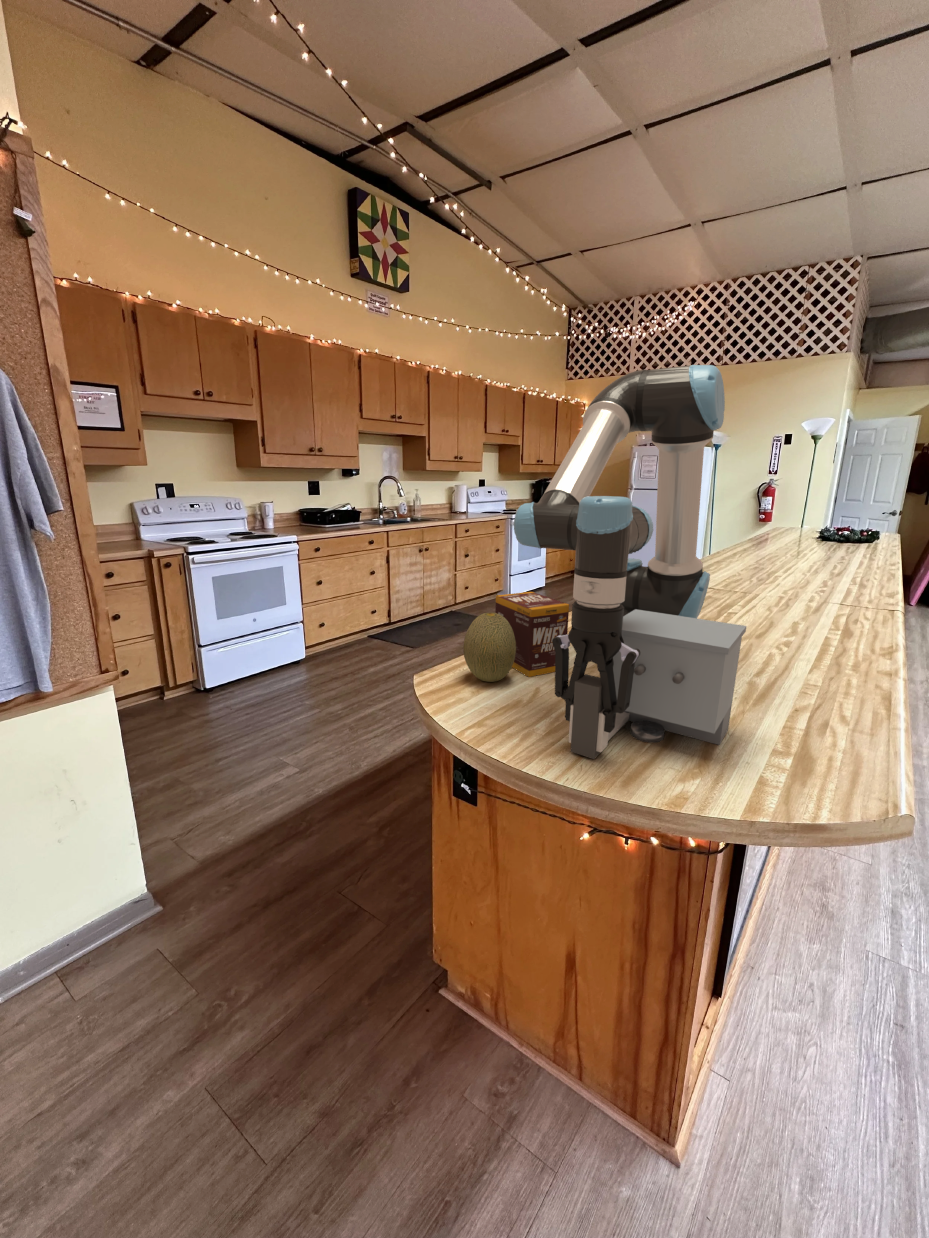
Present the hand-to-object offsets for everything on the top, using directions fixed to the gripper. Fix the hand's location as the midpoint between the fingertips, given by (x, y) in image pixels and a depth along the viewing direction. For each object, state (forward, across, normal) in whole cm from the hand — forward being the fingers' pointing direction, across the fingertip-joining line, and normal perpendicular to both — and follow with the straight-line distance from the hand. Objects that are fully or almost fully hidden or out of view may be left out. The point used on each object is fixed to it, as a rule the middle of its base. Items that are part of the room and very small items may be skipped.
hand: (587, 743), depth 87 cm
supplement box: (+2, -28, +31) cm, 42 cm away
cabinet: (+2, +8, +16) cm, 17 cm away
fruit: (+2, -30, +17) cm, 35 cm away
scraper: (+1, 0, +6) cm, 7 cm away
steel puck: (+2, +6, +12) cm, 14 cm away
